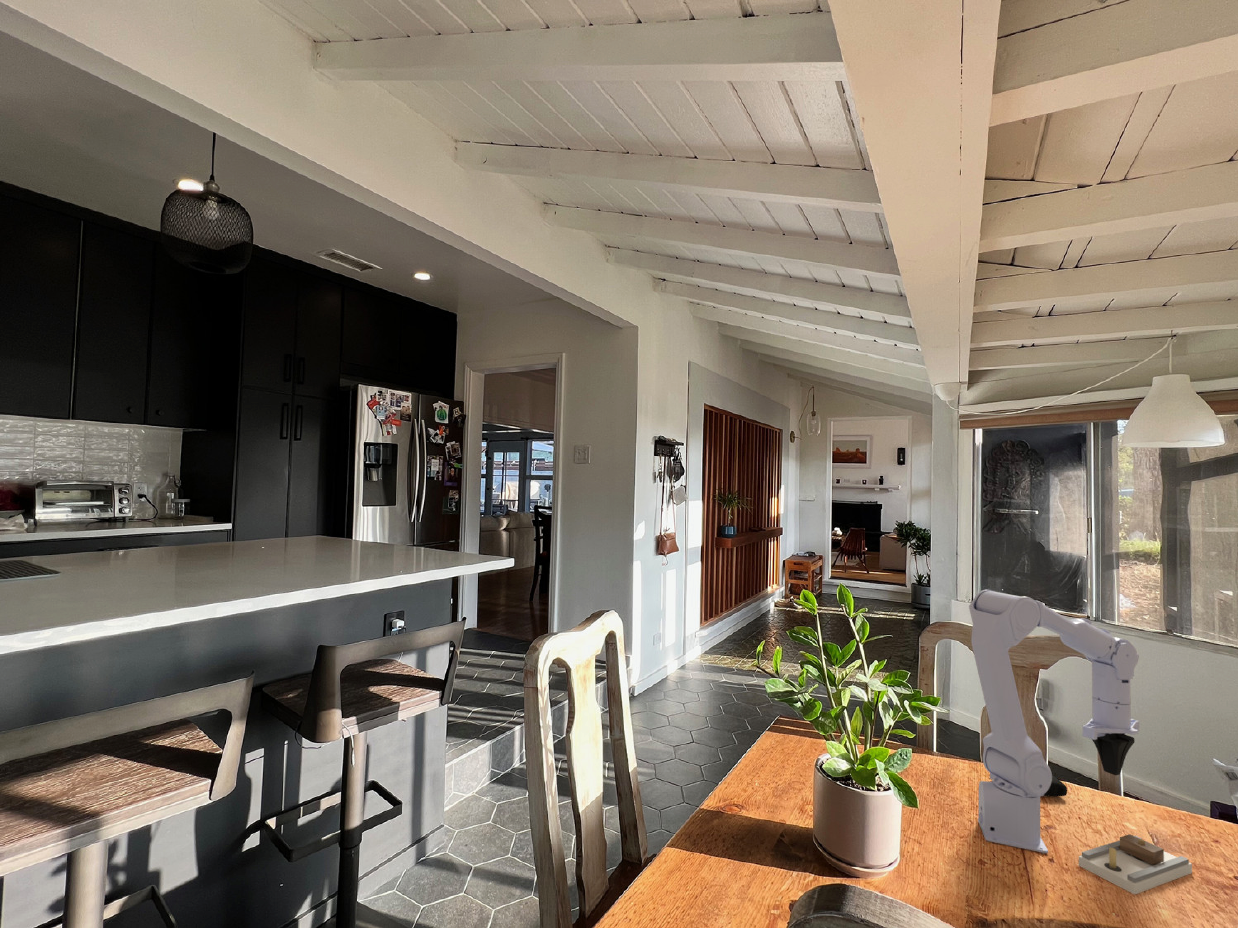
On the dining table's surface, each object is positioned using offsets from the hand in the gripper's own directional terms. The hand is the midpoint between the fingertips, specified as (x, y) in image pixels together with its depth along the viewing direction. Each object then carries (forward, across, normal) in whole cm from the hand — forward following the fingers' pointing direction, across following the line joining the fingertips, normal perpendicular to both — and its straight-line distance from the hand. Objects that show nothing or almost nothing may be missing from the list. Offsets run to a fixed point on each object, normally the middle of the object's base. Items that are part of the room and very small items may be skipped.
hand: (1111, 772), depth 115 cm
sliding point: (+8, -9, -9) cm, 16 cm away
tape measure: (+11, +4, +15) cm, 19 cm away
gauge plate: (+10, -12, -9) cm, 18 cm away
